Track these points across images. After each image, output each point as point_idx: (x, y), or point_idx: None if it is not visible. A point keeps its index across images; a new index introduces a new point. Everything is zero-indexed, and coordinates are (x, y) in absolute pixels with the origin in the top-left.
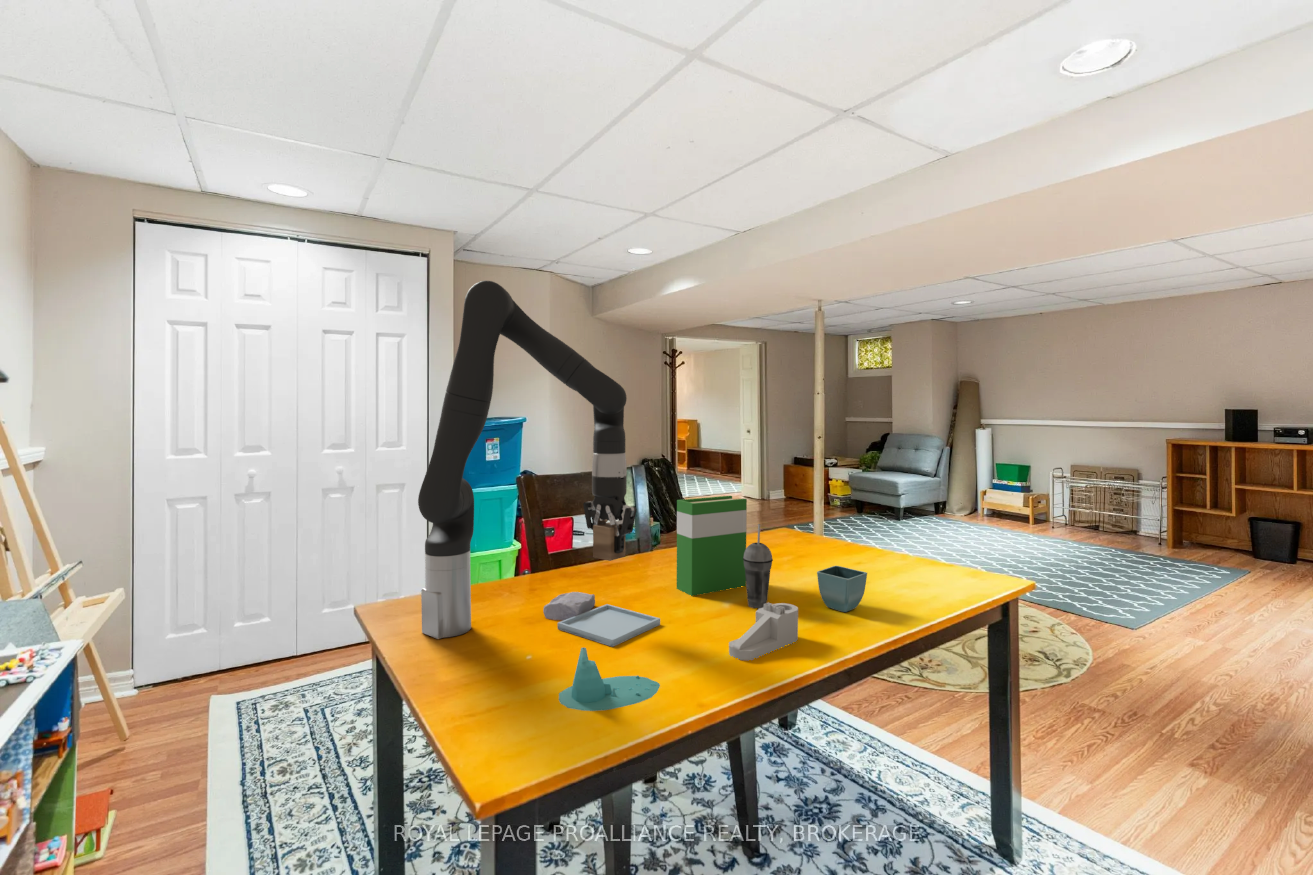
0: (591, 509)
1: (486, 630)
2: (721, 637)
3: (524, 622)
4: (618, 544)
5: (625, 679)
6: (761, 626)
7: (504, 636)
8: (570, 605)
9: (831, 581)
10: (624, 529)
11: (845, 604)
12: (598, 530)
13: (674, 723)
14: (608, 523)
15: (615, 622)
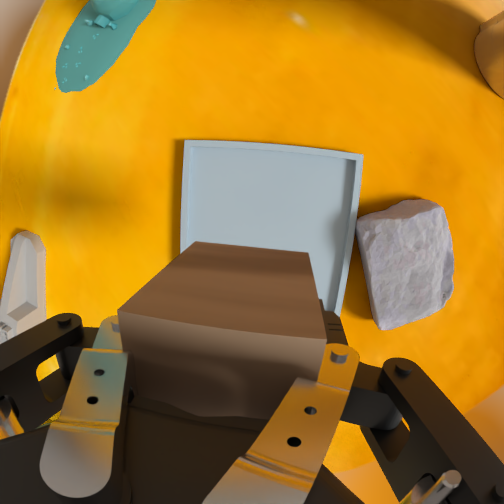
0: (426, 490)
1: (463, 86)
2: (77, 293)
3: (442, 154)
4: None
5: (97, 60)
6: (4, 287)
7: (417, 72)
8: (380, 222)
9: None
10: (45, 326)
11: (44, 424)
12: (258, 313)
13: (24, 45)
14: None
15: (261, 247)
